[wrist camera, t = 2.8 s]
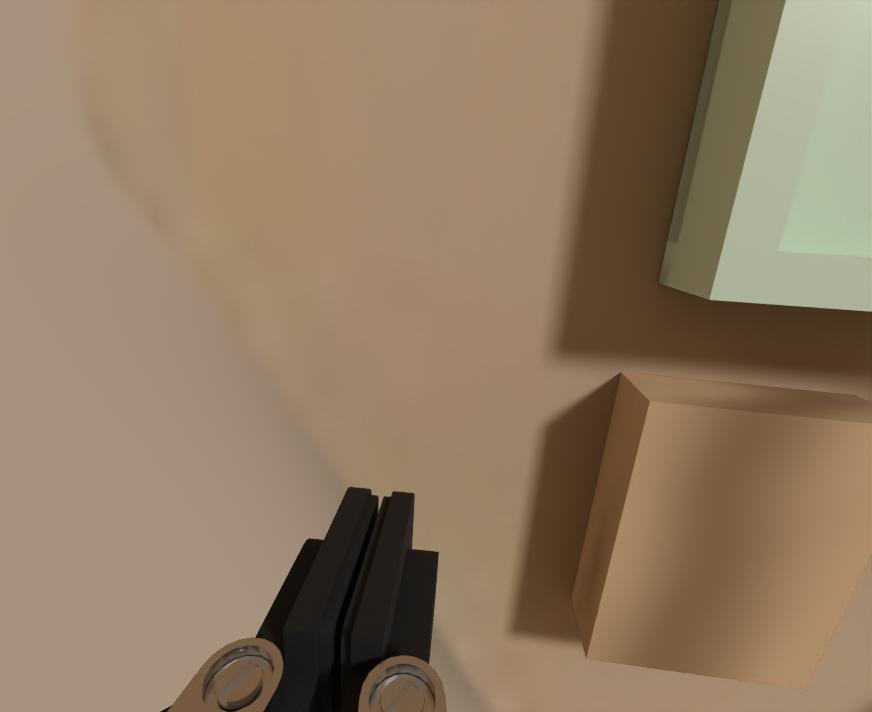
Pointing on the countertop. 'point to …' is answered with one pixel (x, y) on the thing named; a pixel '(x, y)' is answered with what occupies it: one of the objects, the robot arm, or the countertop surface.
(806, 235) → the tray
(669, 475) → the tan cardboard carton
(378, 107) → the countertop surface
